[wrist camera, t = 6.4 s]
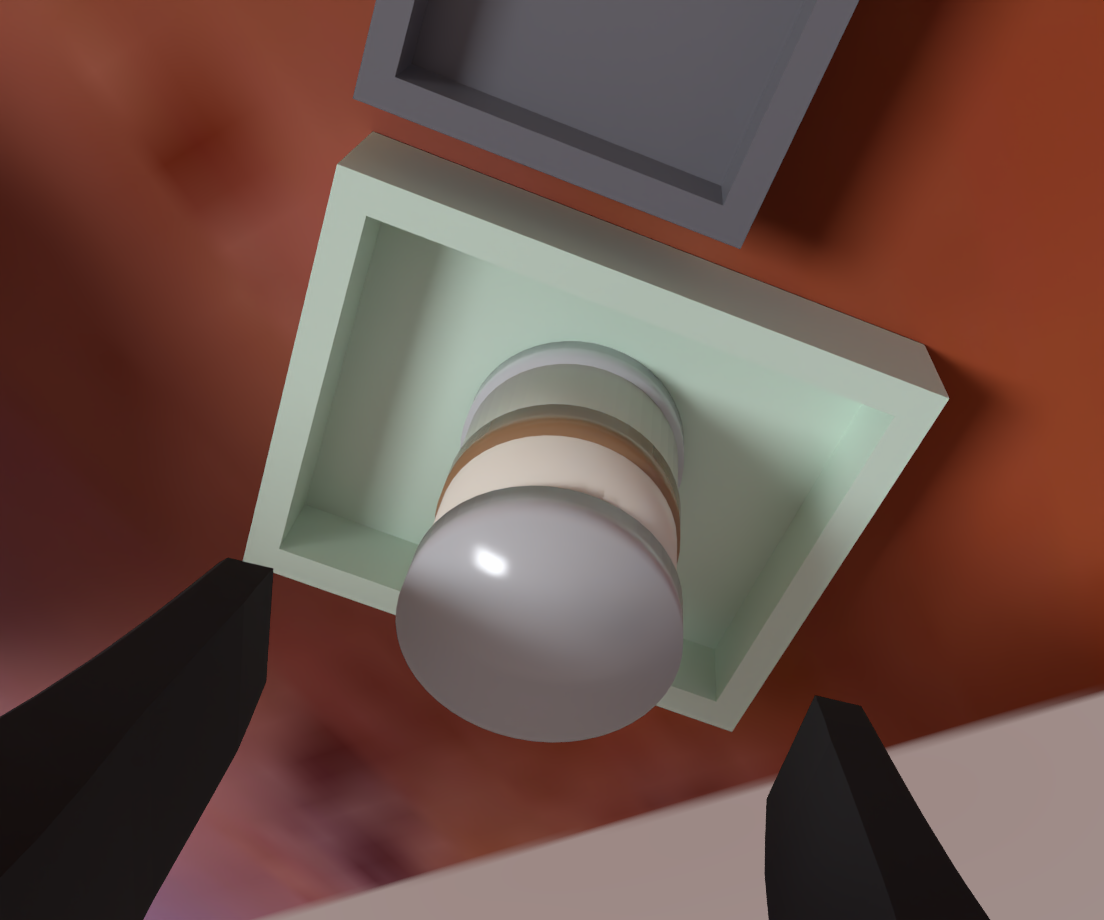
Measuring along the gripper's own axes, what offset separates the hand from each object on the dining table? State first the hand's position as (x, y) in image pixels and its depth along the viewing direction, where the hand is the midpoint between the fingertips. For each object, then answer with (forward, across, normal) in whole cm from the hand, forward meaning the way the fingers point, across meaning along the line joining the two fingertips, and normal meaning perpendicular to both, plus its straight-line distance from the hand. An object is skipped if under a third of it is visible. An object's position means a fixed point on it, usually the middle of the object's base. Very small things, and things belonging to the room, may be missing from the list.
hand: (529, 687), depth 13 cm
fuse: (+6, 0, 0) cm, 6 cm away
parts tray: (+7, 0, 0) cm, 7 cm away
